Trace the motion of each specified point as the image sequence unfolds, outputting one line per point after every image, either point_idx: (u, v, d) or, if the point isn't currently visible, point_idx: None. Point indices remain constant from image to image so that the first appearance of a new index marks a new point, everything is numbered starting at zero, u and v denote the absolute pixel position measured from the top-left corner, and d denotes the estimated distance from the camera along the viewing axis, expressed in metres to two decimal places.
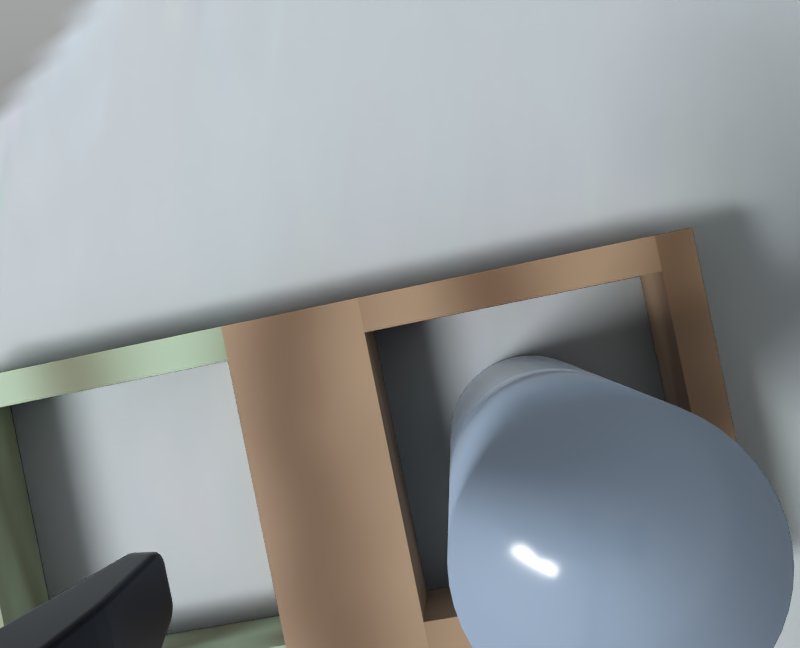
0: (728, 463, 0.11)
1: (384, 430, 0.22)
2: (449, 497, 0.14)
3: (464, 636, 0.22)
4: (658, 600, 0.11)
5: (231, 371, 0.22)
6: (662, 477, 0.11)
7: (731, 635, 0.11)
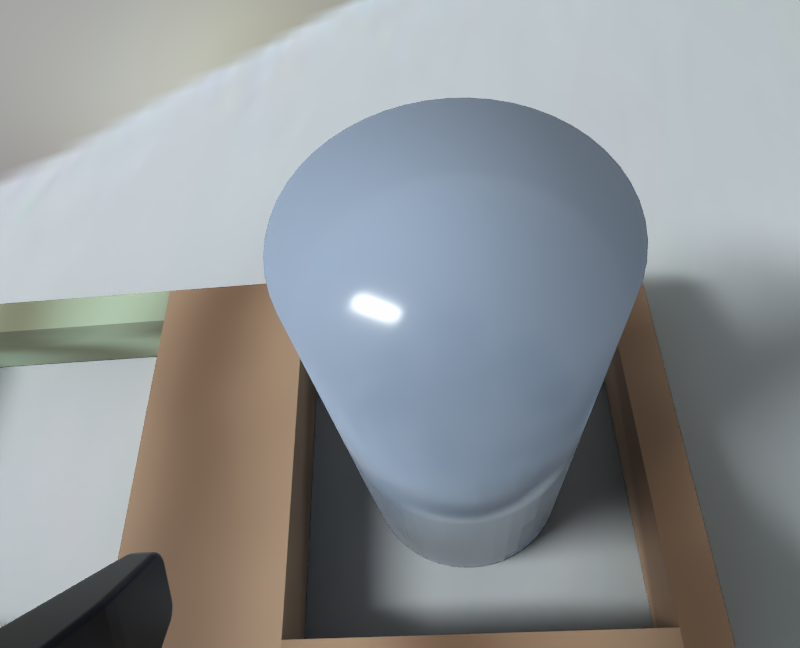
0: (578, 150, 0.11)
1: (297, 405, 0.20)
2: None
3: None
4: (491, 264, 0.10)
5: (163, 330, 0.22)
6: (509, 159, 0.11)
7: (572, 302, 0.09)
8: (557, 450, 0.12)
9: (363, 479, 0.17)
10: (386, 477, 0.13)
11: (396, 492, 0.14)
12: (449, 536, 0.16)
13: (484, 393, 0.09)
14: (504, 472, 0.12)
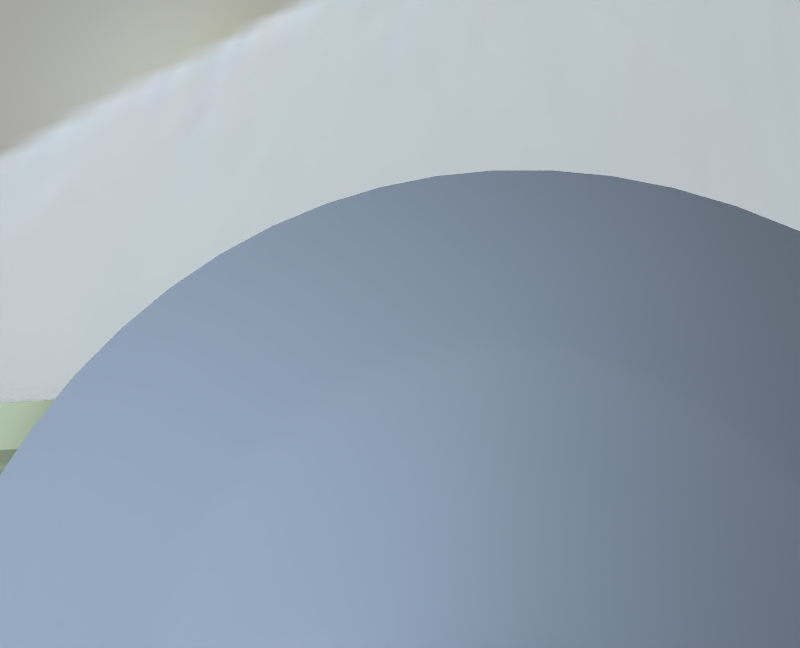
0: None
1: None
2: None
3: None
4: None
5: None
6: (693, 379, 0.04)
7: None
8: None
9: None
10: None
11: None
12: None
13: None
14: None
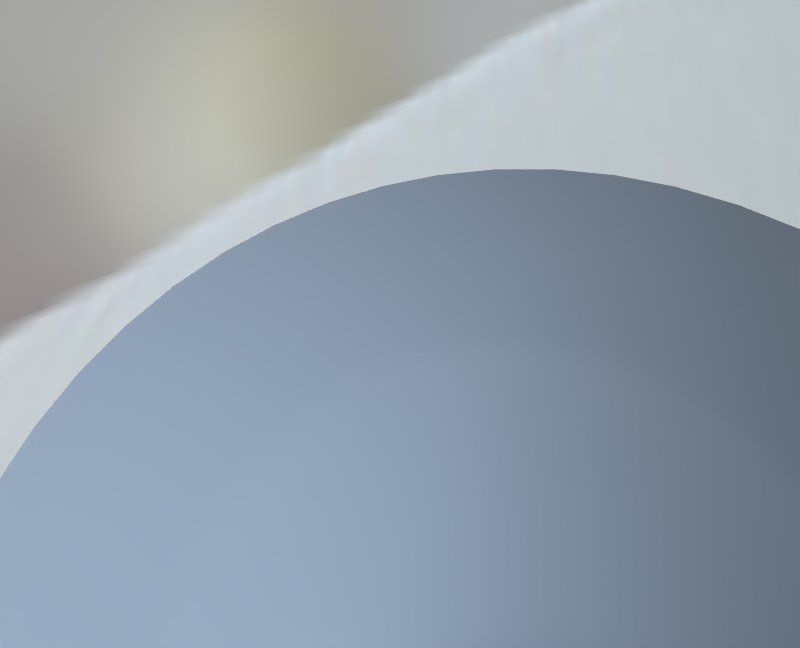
0: None
1: None
2: None
3: None
4: None
5: None
6: (694, 377, 0.04)
7: None
8: None
9: None
10: None
11: None
12: None
13: None
14: None
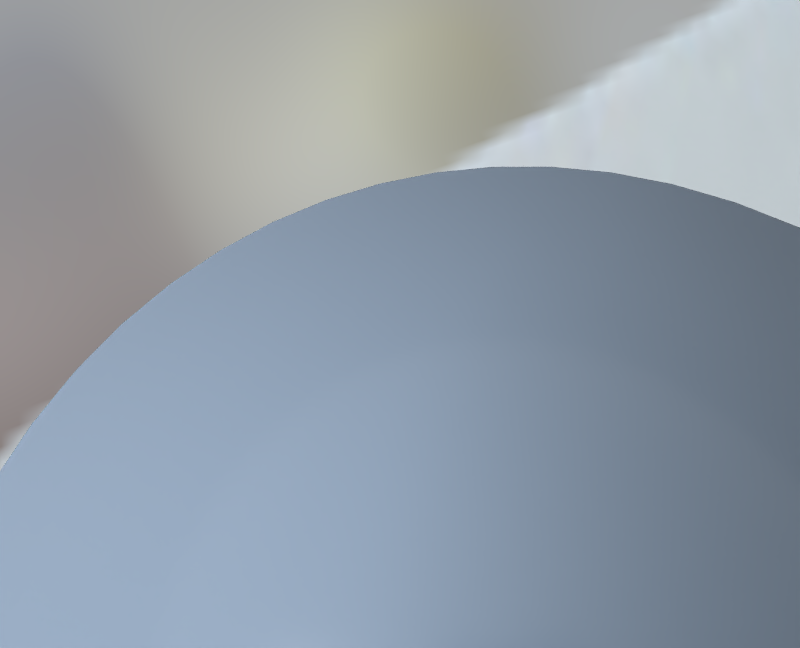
0: None
1: None
2: None
3: None
4: None
5: None
6: (691, 373, 0.04)
7: None
8: None
9: None
10: None
11: None
12: None
13: None
14: None
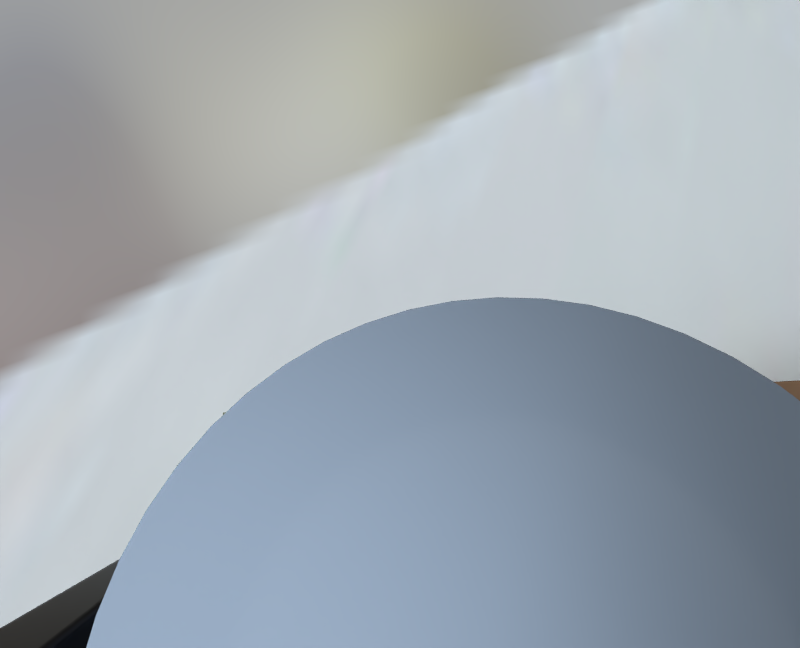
0: None
1: None
2: None
3: None
4: None
5: None
6: (645, 476, 0.05)
7: None
8: None
9: None
10: None
11: None
12: None
13: None
14: None
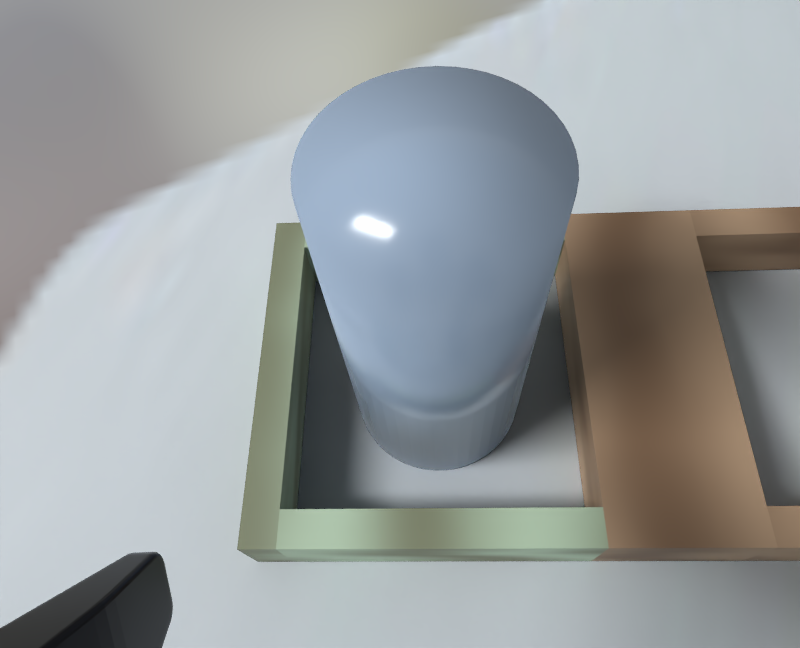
0: (533, 111, 0.14)
1: None
2: None
3: None
4: (461, 191, 0.13)
5: (567, 248, 0.24)
6: (481, 115, 0.14)
7: (519, 220, 0.13)
8: (508, 347, 0.15)
9: (353, 384, 0.20)
10: (374, 367, 0.16)
11: (381, 383, 0.17)
12: (422, 430, 0.19)
13: (452, 280, 0.12)
14: (466, 360, 0.15)
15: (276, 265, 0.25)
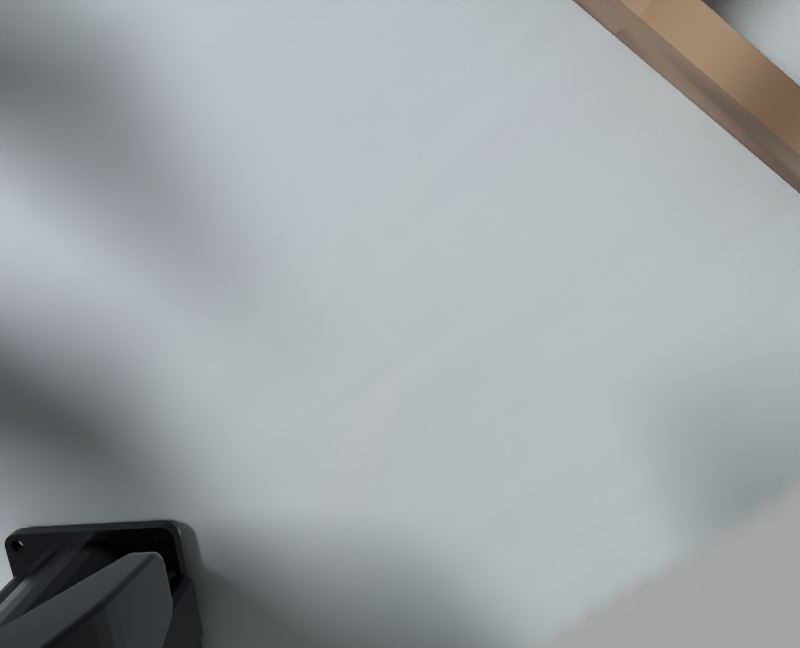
0: None
1: None
2: None
3: (689, 32, 0.16)
4: None
5: None
6: None
7: None
8: None
9: None
10: None
11: None
12: None
13: None
14: None
15: None
